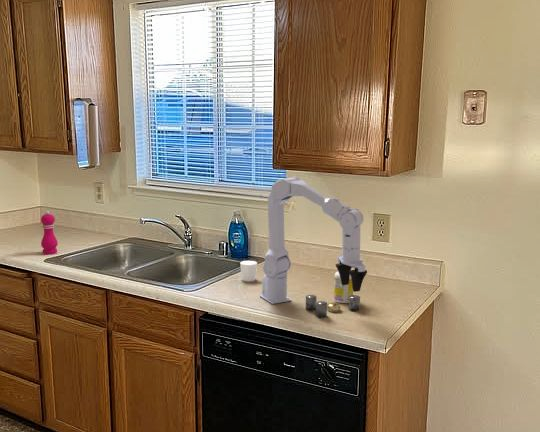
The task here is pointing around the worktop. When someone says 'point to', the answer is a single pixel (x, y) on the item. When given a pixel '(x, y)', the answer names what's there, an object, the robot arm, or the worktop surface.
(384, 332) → the worktop surface
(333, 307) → the nut
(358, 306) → the grey metal cylinder
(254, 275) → the white cylinder
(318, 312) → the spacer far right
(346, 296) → the supplement bottle
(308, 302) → the spacer near
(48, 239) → the pepper mill
